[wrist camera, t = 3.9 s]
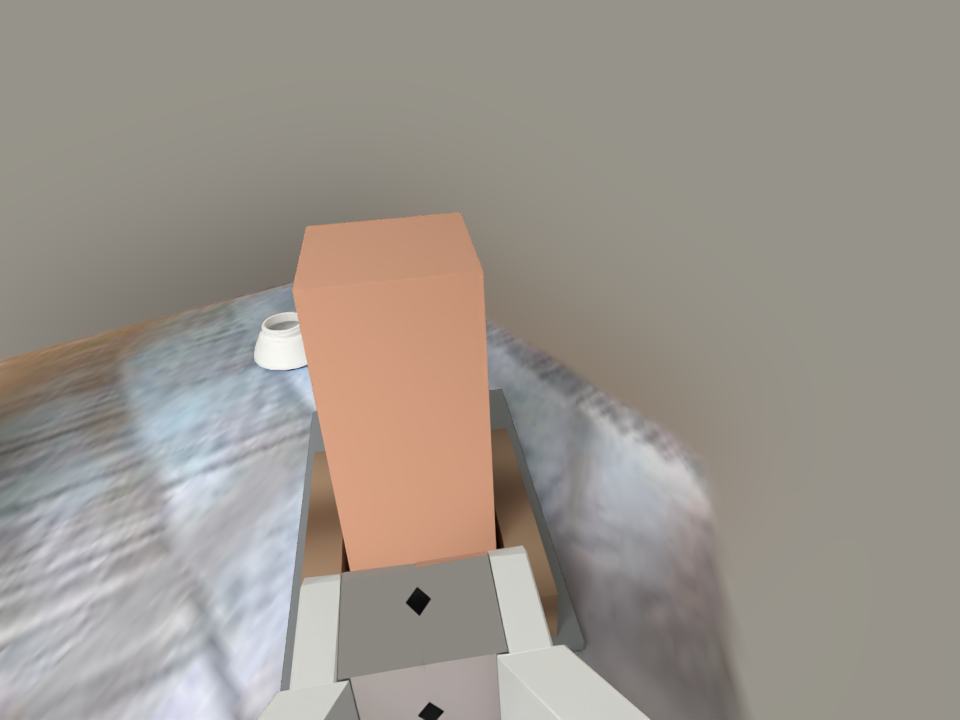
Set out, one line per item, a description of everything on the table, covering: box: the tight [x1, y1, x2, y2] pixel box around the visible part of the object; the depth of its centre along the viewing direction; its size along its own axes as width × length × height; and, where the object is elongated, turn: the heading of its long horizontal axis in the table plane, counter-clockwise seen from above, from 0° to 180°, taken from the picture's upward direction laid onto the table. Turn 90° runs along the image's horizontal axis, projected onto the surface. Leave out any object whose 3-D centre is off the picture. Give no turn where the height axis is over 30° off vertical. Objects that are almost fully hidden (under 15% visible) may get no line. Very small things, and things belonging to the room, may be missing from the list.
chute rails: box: [300, 428, 558, 637], centre depth 31 cm, size 11×10×2 cm
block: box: [292, 212, 496, 571], centre depth 27 cm, size 6×6×15 cm
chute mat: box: [280, 389, 585, 691], centre depth 35 cm, size 20×12×1 cm, turn 9°
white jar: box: [254, 312, 307, 370], centre depth 48 cm, size 5×3×5 cm
